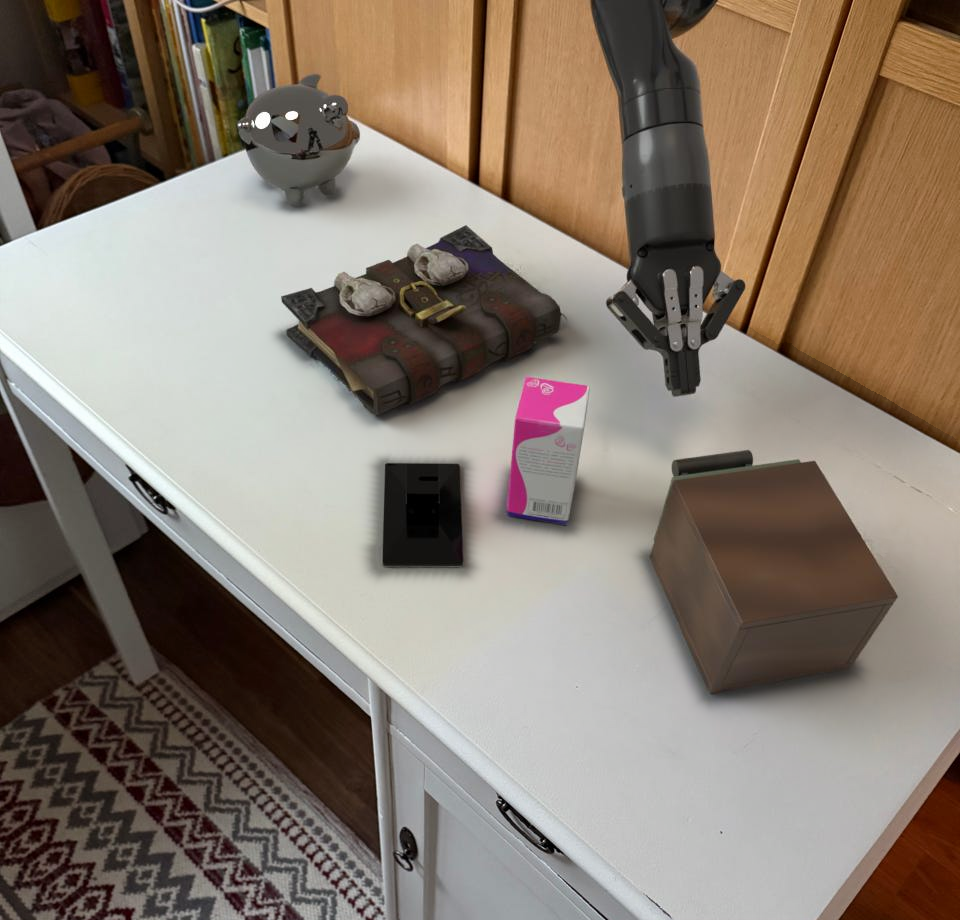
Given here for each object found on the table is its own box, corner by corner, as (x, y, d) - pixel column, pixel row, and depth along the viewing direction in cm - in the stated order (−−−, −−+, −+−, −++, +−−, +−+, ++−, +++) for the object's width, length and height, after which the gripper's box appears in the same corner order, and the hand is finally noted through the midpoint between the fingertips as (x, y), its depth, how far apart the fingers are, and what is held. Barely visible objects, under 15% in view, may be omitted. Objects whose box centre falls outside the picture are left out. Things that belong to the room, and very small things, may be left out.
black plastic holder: (463, 568, 82) (465, 532, 78) (379, 568, 81) (376, 532, 78) (459, 466, 89) (461, 428, 85) (382, 465, 88) (380, 428, 85)
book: (372, 430, 91) (368, 368, 85) (280, 333, 99) (271, 270, 93) (581, 337, 101) (590, 276, 95) (482, 256, 109) (485, 195, 103)
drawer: (637, 504, 86) (654, 440, 79) (752, 488, 88) (778, 424, 81) (708, 663, 76) (734, 604, 70) (836, 640, 78) (872, 581, 72)
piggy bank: (380, 195, 115) (377, 97, 106) (267, 226, 110) (253, 126, 101) (339, 152, 121) (332, 55, 111) (229, 180, 115) (212, 81, 106)
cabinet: (649, 557, 83) (672, 479, 76) (779, 537, 86) (815, 460, 78) (709, 693, 75) (742, 623, 68) (851, 668, 77) (898, 596, 70)
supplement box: (575, 481, 88) (593, 383, 79) (567, 526, 85) (585, 431, 76) (514, 471, 89) (525, 373, 79) (504, 516, 85) (514, 419, 76)
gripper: (609, 185, 78) (630, 400, 81) (757, 173, 80) (771, 382, 83) (582, 211, 85) (602, 407, 88) (717, 199, 87) (732, 390, 90)
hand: (684, 394), depth 86 cm, fingers closed
